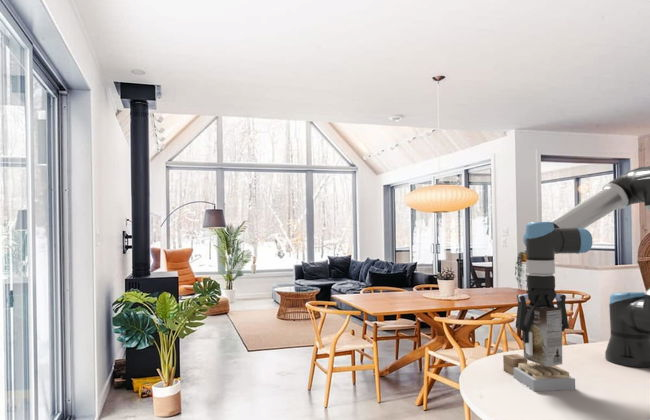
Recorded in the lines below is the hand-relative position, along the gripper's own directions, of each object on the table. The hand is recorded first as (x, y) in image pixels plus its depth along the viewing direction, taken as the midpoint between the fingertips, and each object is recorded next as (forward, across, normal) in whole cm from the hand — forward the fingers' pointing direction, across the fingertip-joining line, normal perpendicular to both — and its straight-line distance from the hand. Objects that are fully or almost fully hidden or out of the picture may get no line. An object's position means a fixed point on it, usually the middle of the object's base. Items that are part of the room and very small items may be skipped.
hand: (542, 353), depth 140 cm
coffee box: (+3, 0, 0) cm, 3 cm away
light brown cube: (+9, +3, -11) cm, 14 cm away
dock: (+9, 0, 0) cm, 9 cm away
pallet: (+6, 0, 0) cm, 6 cm away
